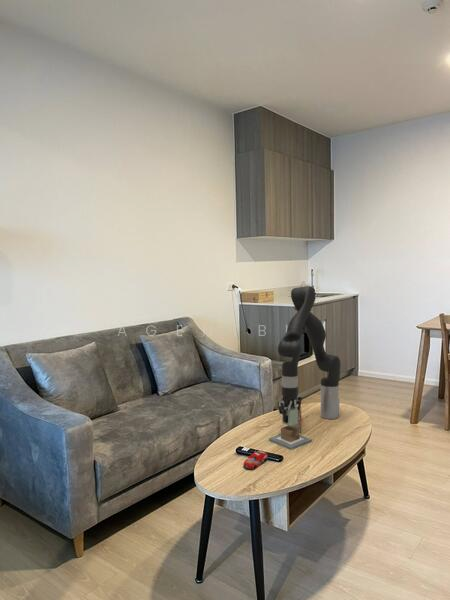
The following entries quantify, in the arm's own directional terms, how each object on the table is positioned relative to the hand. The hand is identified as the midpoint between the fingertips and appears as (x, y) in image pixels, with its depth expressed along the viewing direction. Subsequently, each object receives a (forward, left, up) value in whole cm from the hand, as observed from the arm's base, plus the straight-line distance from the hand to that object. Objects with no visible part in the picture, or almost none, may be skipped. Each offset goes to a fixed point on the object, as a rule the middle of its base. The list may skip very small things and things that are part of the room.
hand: (289, 421), depth 200 cm
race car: (+28, +7, -10) cm, 30 cm away
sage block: (0, 0, -1) cm, 1 cm away
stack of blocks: (-17, -13, -10) cm, 23 cm away
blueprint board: (0, 0, -9) cm, 9 cm away
